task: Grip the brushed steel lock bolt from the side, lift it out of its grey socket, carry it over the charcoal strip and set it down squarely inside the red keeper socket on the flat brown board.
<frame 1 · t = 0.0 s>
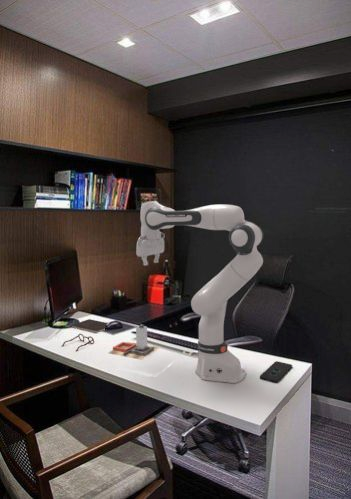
hand: (151, 264, 176), 48 cm above the table, tool pointing down, fingers open, 8 cm apart
keeper socket: (124, 348, 193), resting on flat brown board
smart home device: (276, 374, 164), on the table
glasses: (78, 346, 203), on the table
hardcover book: (92, 328, 237), on the table
flat brown board: (134, 352, 191), on the table
lock bolt: (142, 351, 188), point 1 cm above the table, touching flat brown board
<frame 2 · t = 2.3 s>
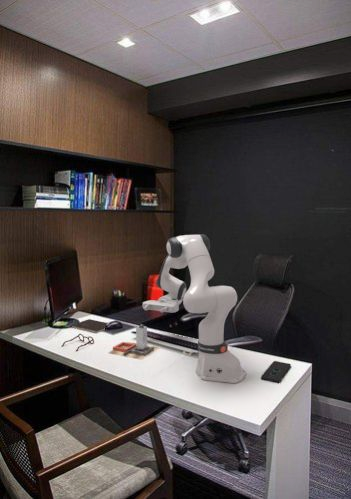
hand: (152, 309, 197), 21 cm above the table, tool horizontal, fingers open, 8 cm apart
nothing on the table moved.
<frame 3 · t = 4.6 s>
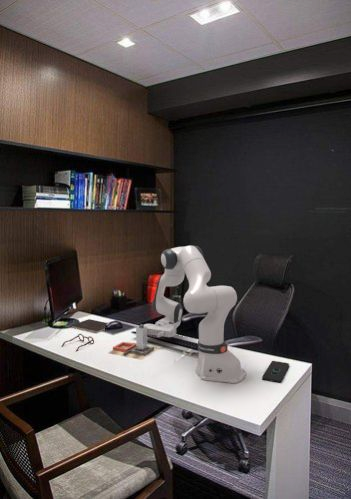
hand: (149, 334, 194), 8 cm above the table, tool horizontal, fingers open, 8 cm apart
nothing on the table moved.
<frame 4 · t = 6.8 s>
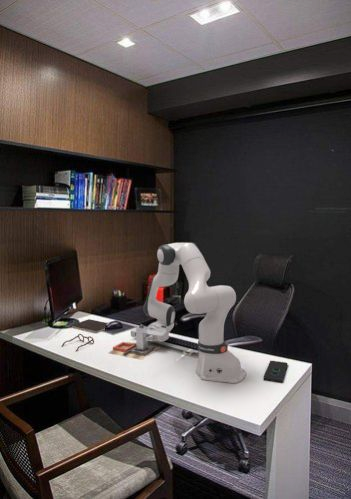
hand: (140, 339, 187), 9 cm above the table, tool horizontal, fingers closed on lock bolt, 4 cm apart
lock bolt: (142, 351, 188), point 2 cm above the table, touching flat brown board, gripper
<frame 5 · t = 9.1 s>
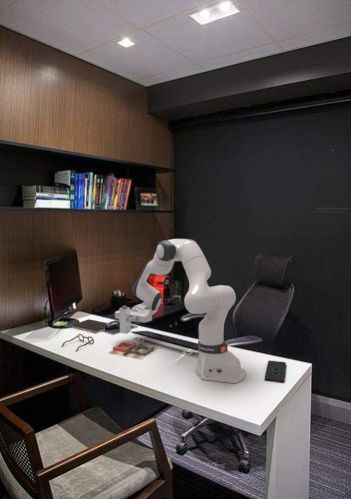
hand: (124, 319, 191), 17 cm above the table, tool horizontal, fingers closed on lock bolt, 4 cm apart
lock bolt: (125, 332, 192), point 10 cm above the table, touching gripper
when the fingers open (9 cm above the table, at t = 11.4 s): lock bolt stays where it is, resting on flat brown board.
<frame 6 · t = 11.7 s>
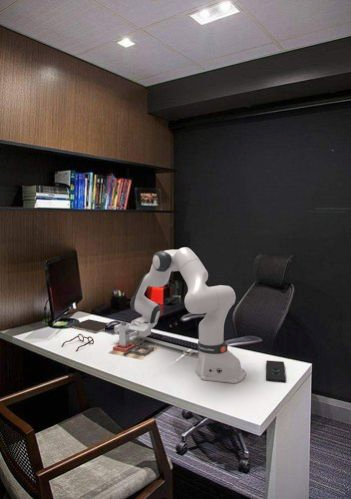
hand: (123, 334, 192), 9 cm above the table, tool horizontal, fingers open, 7 cm apart
lock bolt: (124, 348, 193), point 2 cm above the table, touching flat brown board
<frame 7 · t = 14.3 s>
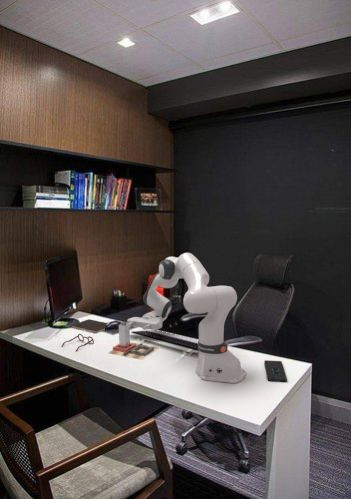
hand: (136, 327, 203), 10 cm above the table, tool horizontal, fingers open, 8 cm apart
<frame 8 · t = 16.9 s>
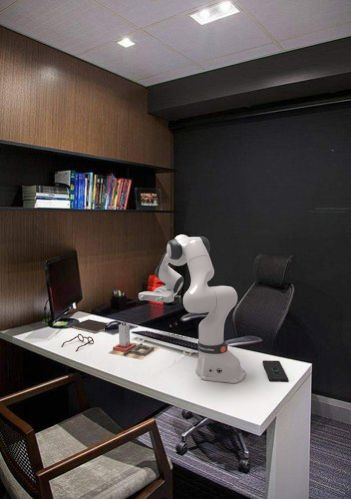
hand: (148, 299, 201), 25 cm above the table, tool horizontal, fingers open, 8 cm apart
at the end: lock bolt 0.1 cm off-centre on the keeper socket, point 0.0 cm above the keeper socket's base; lock bolt tilted 0°; the gripper is holding nothing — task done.
